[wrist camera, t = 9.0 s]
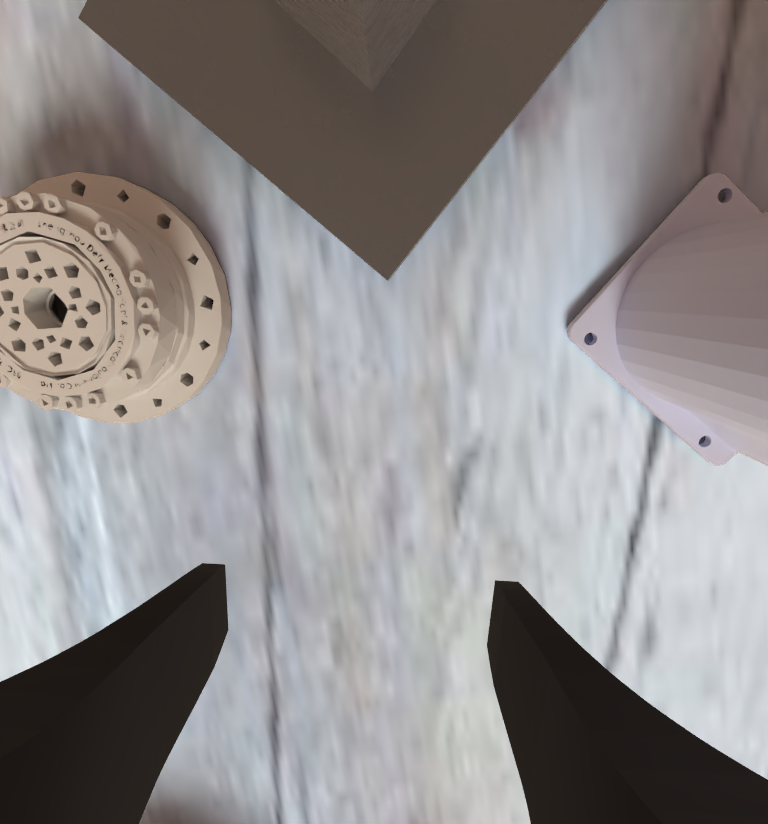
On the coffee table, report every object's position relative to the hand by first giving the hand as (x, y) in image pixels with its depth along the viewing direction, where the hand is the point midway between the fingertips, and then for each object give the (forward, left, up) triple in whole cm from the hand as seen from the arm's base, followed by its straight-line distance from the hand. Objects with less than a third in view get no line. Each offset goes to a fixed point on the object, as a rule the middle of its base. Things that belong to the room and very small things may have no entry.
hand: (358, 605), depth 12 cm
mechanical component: (+13, +1, -10) cm, 17 cm away
